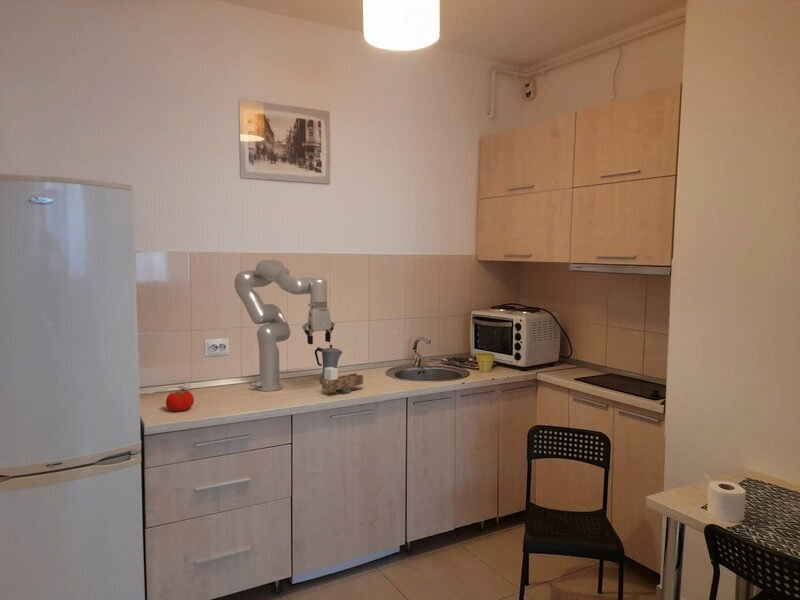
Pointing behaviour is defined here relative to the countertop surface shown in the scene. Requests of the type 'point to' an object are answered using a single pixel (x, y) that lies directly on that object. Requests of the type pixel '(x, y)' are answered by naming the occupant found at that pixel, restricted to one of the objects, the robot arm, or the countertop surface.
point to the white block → (330, 374)
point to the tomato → (179, 401)
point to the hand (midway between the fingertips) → (319, 342)
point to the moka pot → (328, 357)
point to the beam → (343, 383)
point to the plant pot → (485, 361)
